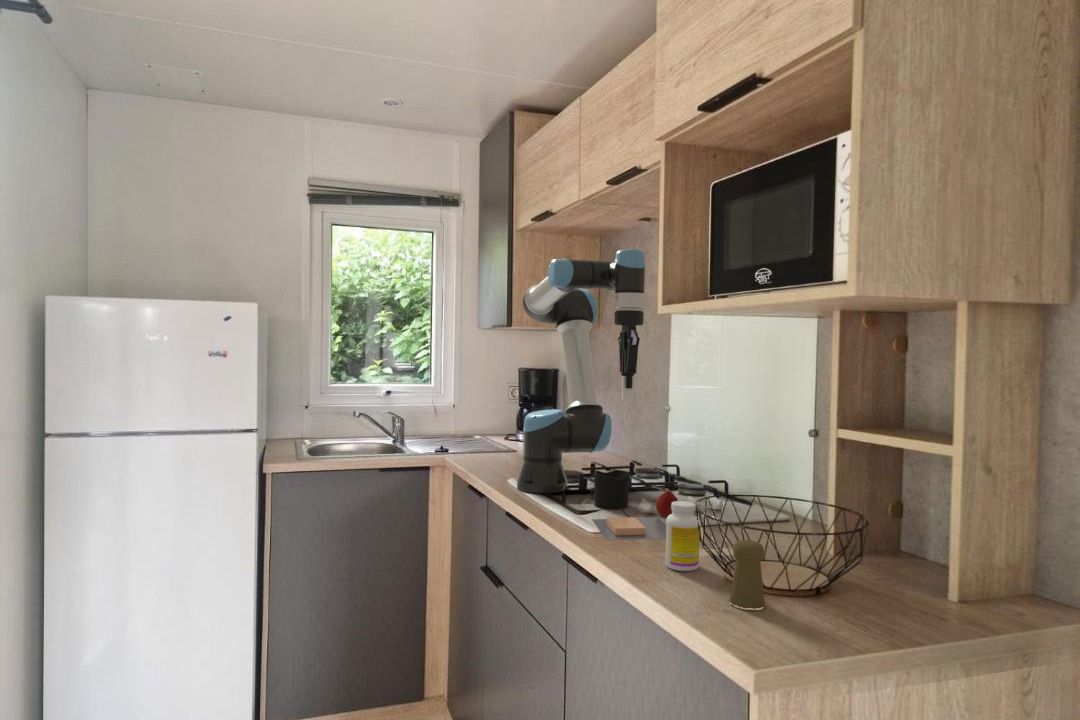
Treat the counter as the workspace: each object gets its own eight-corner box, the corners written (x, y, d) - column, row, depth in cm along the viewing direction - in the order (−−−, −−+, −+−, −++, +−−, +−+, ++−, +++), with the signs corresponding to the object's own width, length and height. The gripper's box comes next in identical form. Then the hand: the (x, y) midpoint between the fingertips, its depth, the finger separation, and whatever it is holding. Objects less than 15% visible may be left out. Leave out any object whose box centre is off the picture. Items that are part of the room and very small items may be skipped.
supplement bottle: (705, 571, 138) (706, 506, 138) (675, 573, 136) (676, 508, 136) (688, 560, 145) (689, 498, 144) (659, 563, 143) (660, 500, 142)
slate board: (591, 524, 171) (591, 519, 171) (658, 523, 174) (658, 518, 173) (606, 544, 155) (606, 539, 155) (680, 543, 157) (681, 538, 157)
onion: (678, 517, 179) (678, 486, 179) (680, 523, 173) (681, 491, 173) (655, 516, 180) (655, 485, 179) (656, 522, 174) (657, 490, 174)
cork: (739, 612, 118) (741, 547, 118) (722, 598, 124) (724, 537, 123) (772, 610, 119) (773, 546, 119) (754, 596, 125) (756, 535, 125)
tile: (606, 517, 166) (615, 528, 157) (635, 517, 167) (645, 527, 158) (606, 525, 166) (615, 536, 157) (635, 524, 167) (645, 535, 158)
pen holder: (621, 516, 179) (622, 477, 179) (587, 511, 184) (588, 473, 183) (633, 508, 188) (634, 471, 187) (601, 504, 192) (602, 468, 192)
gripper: (609, 310, 187) (607, 398, 188) (621, 308, 174) (619, 403, 175) (636, 311, 188) (634, 398, 189) (650, 309, 175) (648, 403, 176)
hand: (627, 400), depth 182 cm, fingers closed
